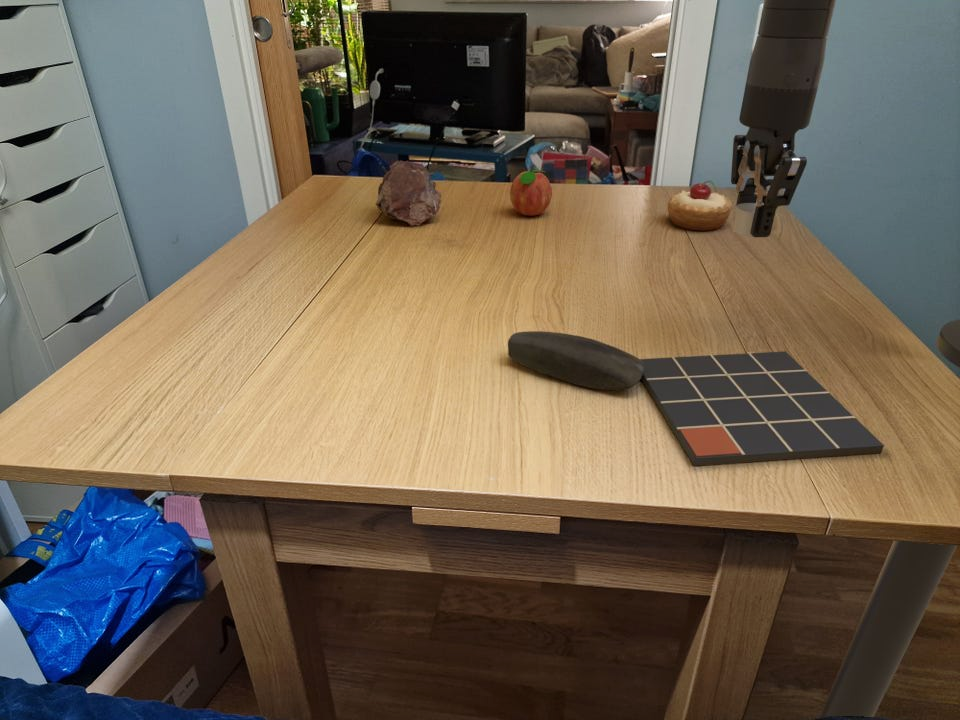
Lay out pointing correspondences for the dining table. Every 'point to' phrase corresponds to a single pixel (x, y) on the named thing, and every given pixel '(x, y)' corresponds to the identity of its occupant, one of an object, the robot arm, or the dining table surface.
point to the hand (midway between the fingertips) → (750, 229)
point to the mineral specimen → (408, 193)
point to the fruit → (531, 192)
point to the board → (751, 409)
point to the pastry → (699, 208)
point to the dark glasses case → (576, 359)
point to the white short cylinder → (743, 219)
